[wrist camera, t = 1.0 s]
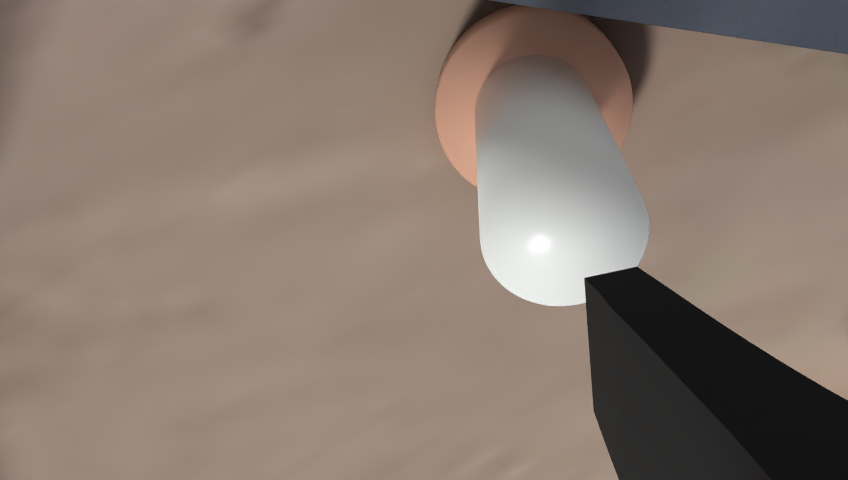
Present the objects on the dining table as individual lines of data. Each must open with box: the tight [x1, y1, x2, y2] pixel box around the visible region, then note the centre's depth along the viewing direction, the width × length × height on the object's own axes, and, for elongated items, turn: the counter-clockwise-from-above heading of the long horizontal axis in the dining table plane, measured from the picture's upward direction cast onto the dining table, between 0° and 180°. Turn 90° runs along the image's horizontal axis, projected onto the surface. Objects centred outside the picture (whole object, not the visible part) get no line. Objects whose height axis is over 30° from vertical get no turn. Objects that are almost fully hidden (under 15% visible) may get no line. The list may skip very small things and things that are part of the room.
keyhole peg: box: [435, 5, 649, 306], centre depth 18 cm, size 5×5×8 cm
